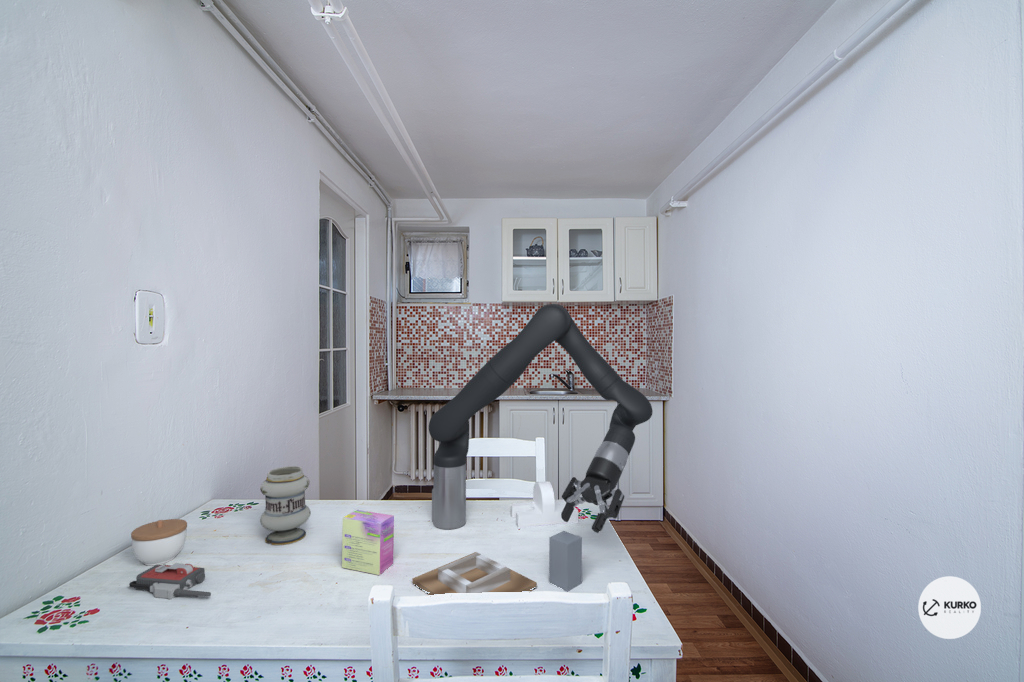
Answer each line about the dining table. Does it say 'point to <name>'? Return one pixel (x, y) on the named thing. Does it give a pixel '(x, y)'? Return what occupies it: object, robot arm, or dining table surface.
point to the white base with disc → (541, 508)
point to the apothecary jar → (285, 505)
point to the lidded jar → (159, 541)
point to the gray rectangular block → (565, 560)
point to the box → (367, 541)
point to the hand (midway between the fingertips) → (579, 525)
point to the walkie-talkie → (170, 580)
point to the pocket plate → (473, 577)
